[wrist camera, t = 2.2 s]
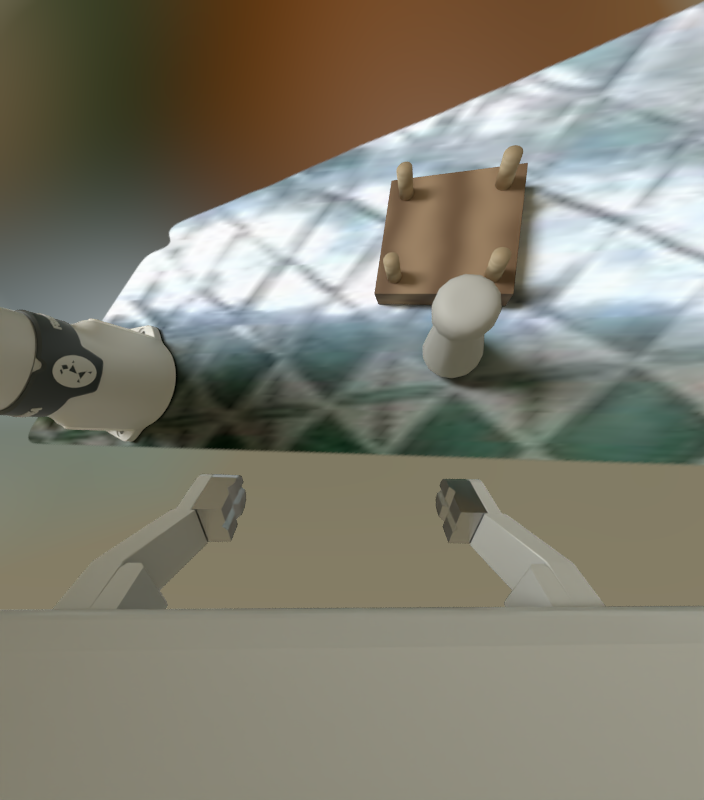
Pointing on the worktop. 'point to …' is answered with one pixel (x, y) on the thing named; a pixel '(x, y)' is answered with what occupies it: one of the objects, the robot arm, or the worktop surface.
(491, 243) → the peg stand
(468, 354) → the salt shaker
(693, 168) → the worktop surface
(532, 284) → the worktop surface
